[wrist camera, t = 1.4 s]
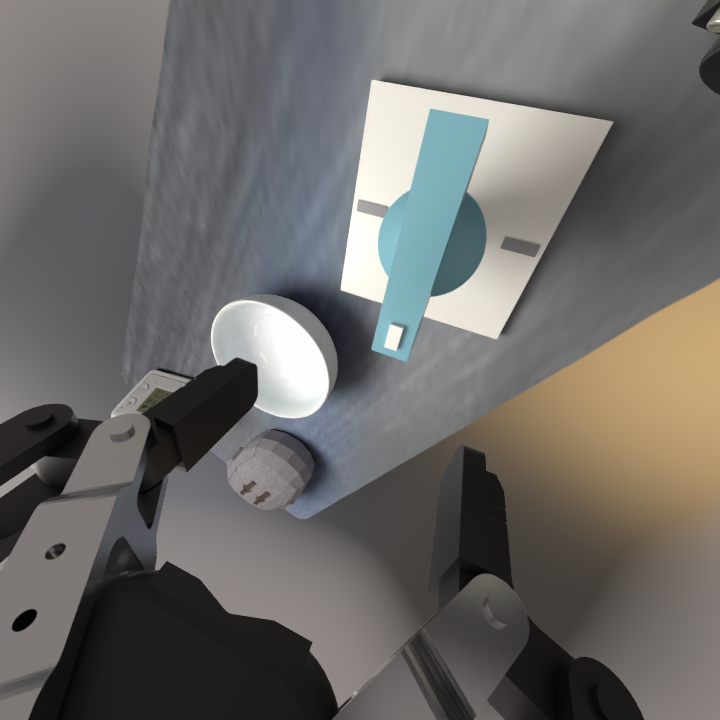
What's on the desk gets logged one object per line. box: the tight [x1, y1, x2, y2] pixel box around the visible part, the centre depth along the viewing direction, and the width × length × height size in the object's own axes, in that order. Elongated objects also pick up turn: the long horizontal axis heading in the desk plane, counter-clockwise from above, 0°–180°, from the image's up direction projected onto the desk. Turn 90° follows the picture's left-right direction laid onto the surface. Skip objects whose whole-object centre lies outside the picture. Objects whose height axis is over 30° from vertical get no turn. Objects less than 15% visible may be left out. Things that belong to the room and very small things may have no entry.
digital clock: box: [111, 370, 193, 418], centre depth 52 cm, size 16×9×11 cm, turn 76°
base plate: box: [341, 80, 613, 339], centre depth 25 cm, size 18×18×8 cm
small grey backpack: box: [227, 430, 315, 511], centre depth 55 cm, size 15×8×20 cm
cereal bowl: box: [211, 294, 338, 418], centre depth 38 cm, size 17×17×7 cm
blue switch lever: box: [371, 109, 489, 362], centre depth 18 cm, size 12×7×8 cm, turn 169°
